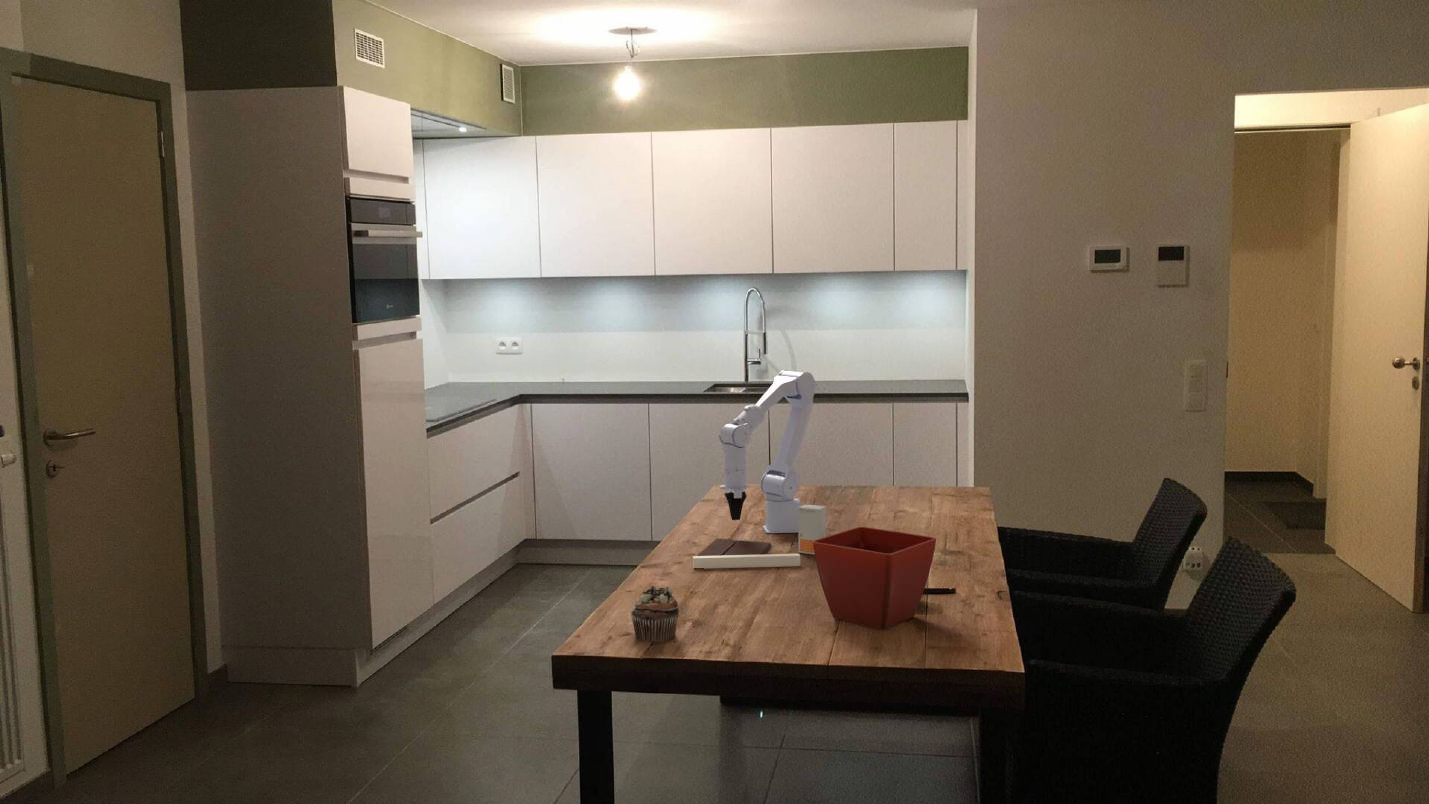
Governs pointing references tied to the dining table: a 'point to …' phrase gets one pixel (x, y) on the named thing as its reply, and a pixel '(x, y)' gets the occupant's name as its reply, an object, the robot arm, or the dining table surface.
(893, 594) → the plant pot
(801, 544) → the skincare box
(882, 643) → the dining table surface
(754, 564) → the bar
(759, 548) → the notebook
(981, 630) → the dining table surface
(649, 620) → the cupcake
